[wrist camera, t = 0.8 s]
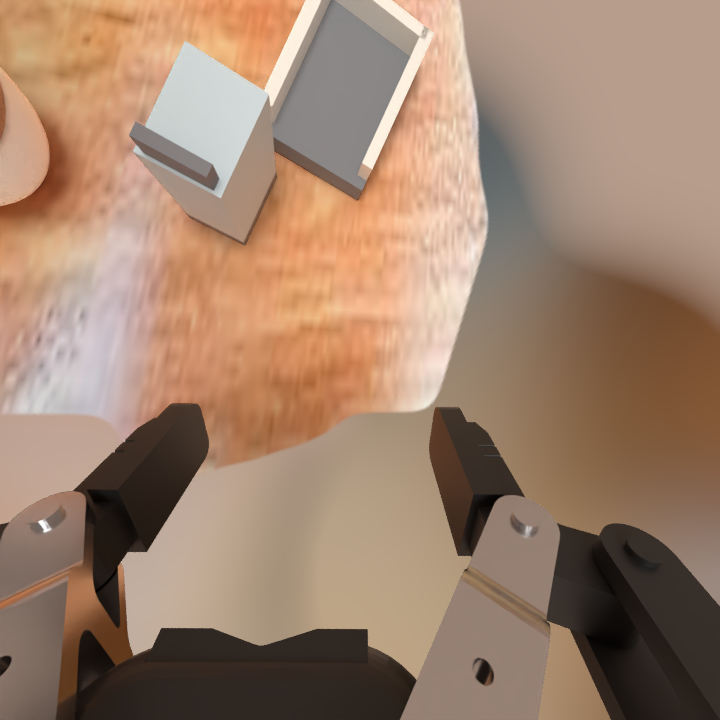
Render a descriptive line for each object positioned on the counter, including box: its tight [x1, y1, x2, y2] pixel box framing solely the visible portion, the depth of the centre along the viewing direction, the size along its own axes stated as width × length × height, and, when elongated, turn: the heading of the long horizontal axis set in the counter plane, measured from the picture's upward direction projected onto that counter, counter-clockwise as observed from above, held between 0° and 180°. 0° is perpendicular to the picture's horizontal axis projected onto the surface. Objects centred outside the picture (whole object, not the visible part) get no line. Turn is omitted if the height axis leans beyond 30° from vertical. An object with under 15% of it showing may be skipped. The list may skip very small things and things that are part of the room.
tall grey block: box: [129, 41, 277, 245], centre depth 22 cm, size 5×7×12 cm
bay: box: [264, 0, 434, 181], centre depth 26 cm, size 10×13×2 cm
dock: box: [272, 0, 410, 200], centre depth 28 cm, size 10×14×2 cm
